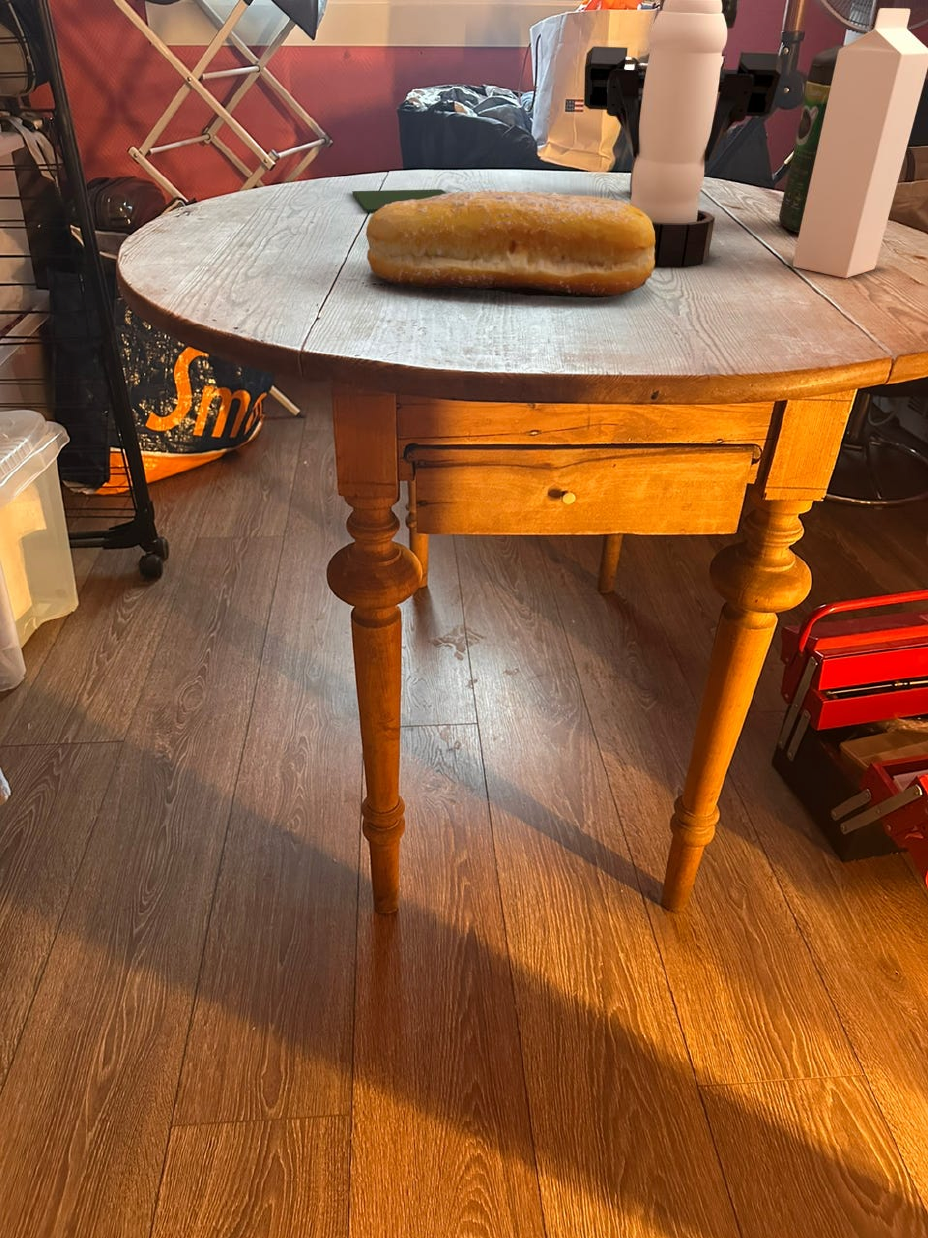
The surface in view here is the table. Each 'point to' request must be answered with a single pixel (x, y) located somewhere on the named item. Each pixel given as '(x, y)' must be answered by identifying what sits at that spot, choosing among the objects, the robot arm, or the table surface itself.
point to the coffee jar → (808, 138)
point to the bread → (513, 243)
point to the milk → (862, 147)
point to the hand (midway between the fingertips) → (670, 156)
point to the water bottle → (678, 109)
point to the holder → (683, 241)
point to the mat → (391, 197)
